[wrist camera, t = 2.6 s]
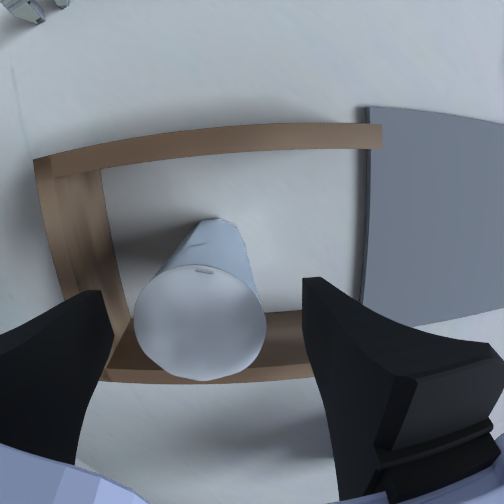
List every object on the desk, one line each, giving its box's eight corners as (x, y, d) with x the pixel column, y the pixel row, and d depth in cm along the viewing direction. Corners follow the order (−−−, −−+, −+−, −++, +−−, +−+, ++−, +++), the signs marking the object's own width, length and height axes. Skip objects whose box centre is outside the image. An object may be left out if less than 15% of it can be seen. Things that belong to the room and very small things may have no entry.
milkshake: (267, 200, 17) (296, 287, 8) (247, 288, 19) (252, 423, 10) (183, 184, 17) (116, 254, 8) (171, 274, 19) (119, 399, 9)
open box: (339, 319, 20) (362, 370, 16) (121, 331, 20) (96, 380, 16) (344, 124, 16) (381, 124, 11) (82, 148, 16) (33, 159, 11)
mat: (503, 303, 21) (507, 306, 20) (356, 329, 21) (358, 335, 20) (528, 131, 16) (534, 132, 15) (365, 107, 16) (369, 106, 15)
